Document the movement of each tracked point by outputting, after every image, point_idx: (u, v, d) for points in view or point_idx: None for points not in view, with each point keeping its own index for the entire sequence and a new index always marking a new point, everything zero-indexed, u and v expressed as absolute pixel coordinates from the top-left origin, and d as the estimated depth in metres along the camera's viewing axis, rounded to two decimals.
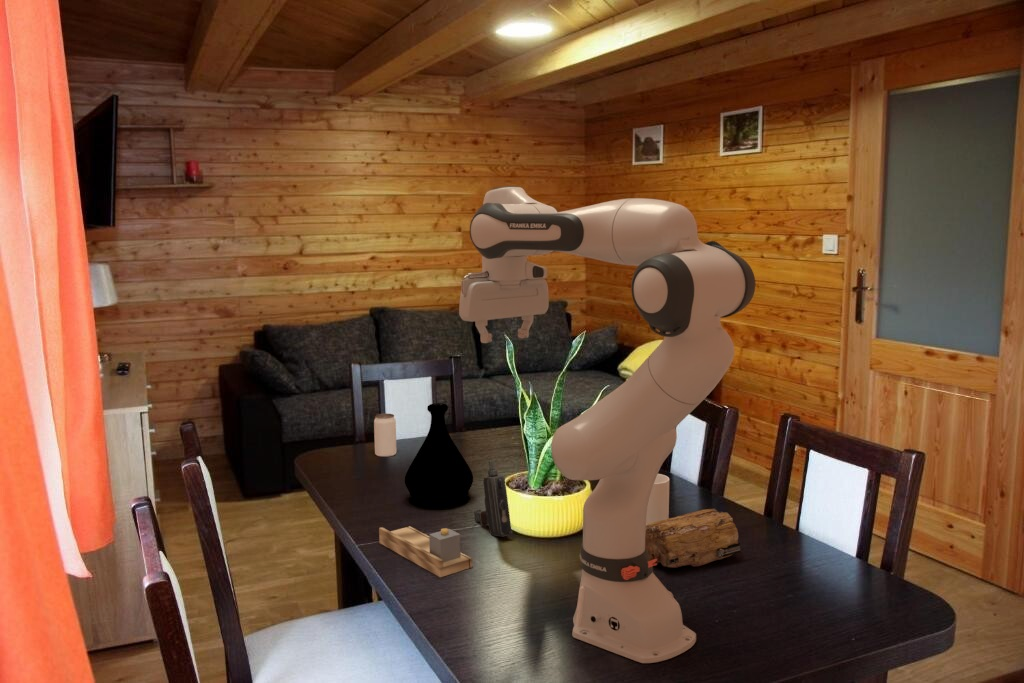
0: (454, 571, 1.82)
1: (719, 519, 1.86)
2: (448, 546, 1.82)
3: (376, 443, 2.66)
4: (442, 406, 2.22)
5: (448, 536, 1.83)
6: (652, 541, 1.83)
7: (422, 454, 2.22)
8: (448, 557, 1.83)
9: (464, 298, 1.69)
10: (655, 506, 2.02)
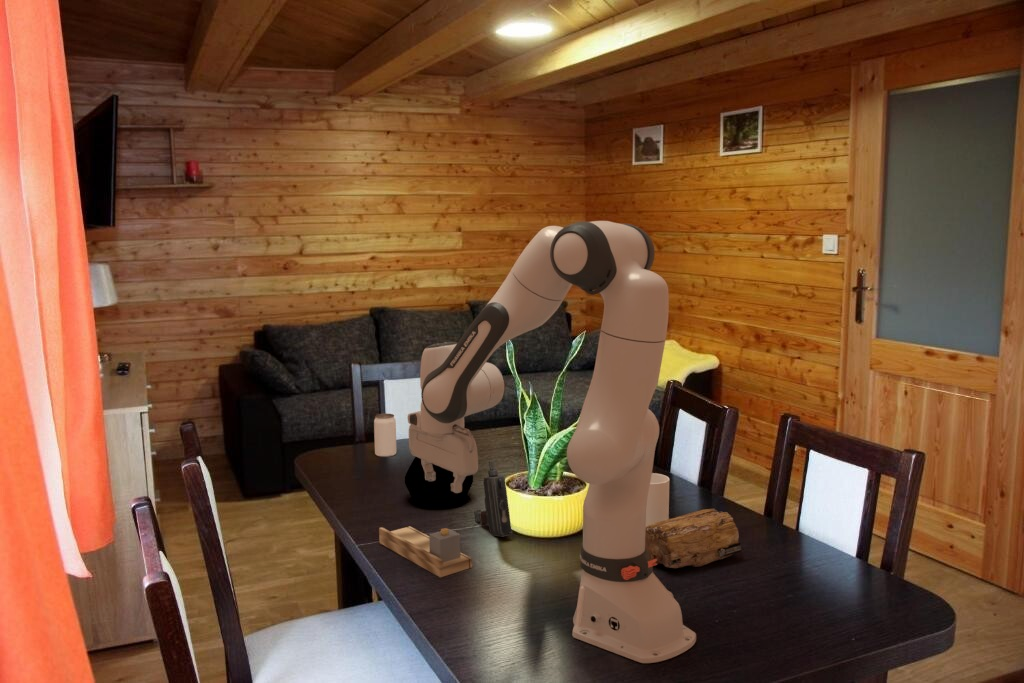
0: (454, 571, 1.82)
1: (719, 519, 1.86)
2: (448, 546, 1.82)
3: (376, 443, 2.66)
4: None
5: (448, 536, 1.83)
6: (654, 542, 1.82)
7: None
8: (448, 557, 1.83)
9: (470, 454, 1.74)
10: (655, 506, 2.02)
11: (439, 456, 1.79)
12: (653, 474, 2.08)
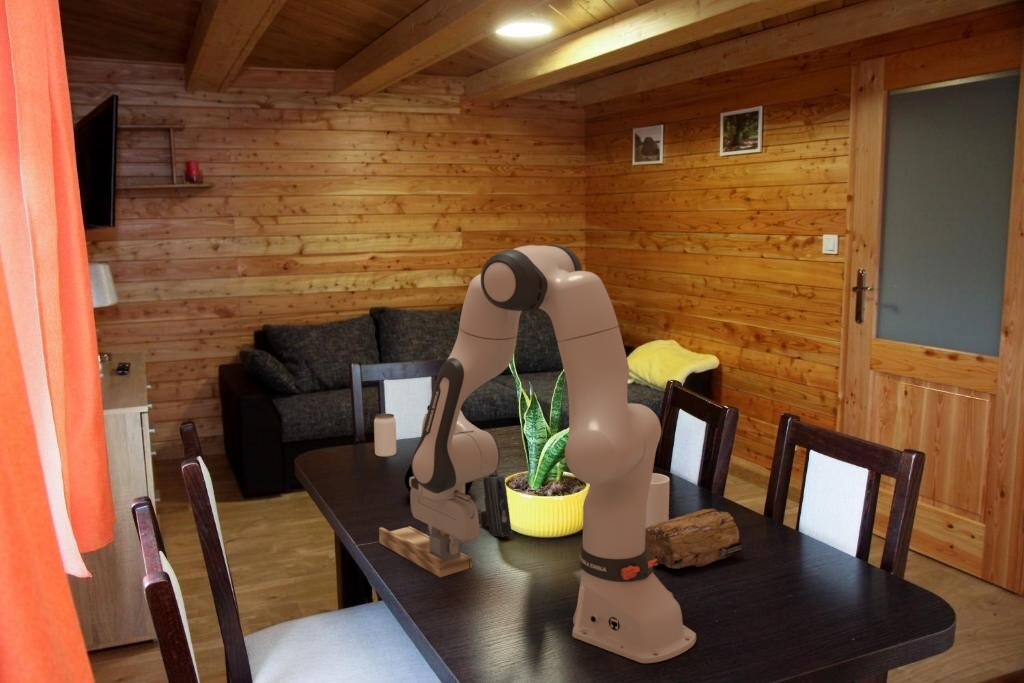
0: (454, 571, 1.82)
1: (720, 519, 1.86)
2: None
3: (376, 443, 2.66)
4: None
5: (448, 536, 1.83)
6: (656, 543, 1.82)
7: None
8: (448, 557, 1.83)
9: (472, 520, 1.76)
10: (655, 506, 2.02)
11: (441, 521, 1.81)
12: (653, 474, 2.08)
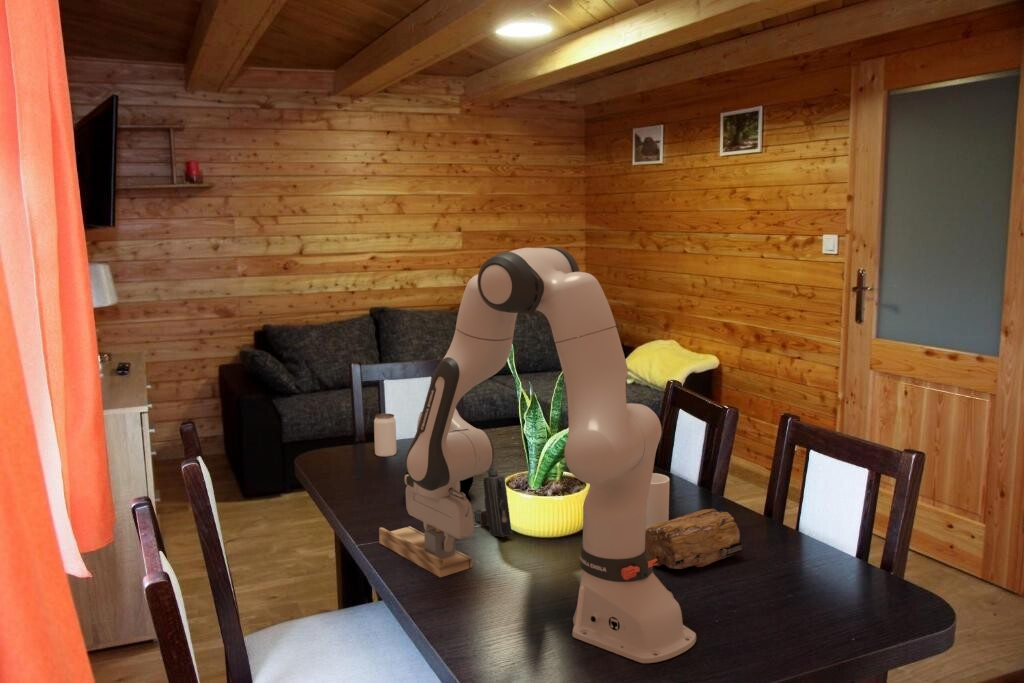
0: (454, 571, 1.82)
1: (721, 519, 1.86)
2: None
3: (376, 443, 2.66)
4: None
5: (443, 533, 1.84)
6: (657, 543, 1.82)
7: None
8: (443, 554, 1.84)
9: (466, 517, 1.77)
10: (655, 506, 2.02)
11: (436, 518, 1.82)
12: (653, 474, 2.08)
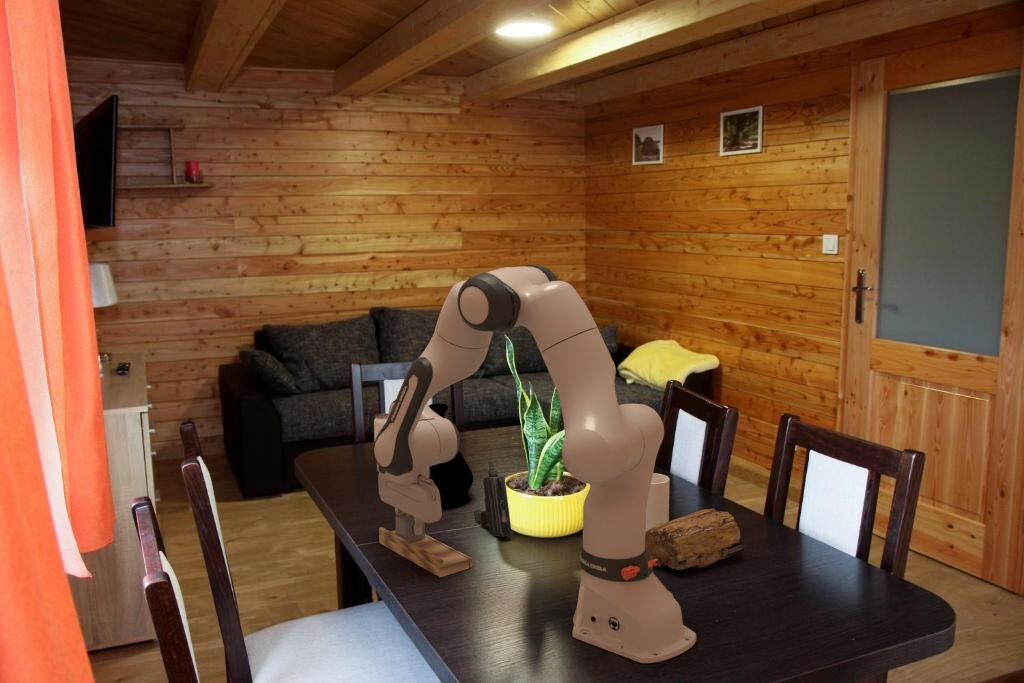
0: (454, 571, 1.82)
1: (722, 519, 1.86)
2: None
3: None
4: (442, 406, 2.22)
5: (413, 518, 1.93)
6: (659, 544, 1.81)
7: None
8: (413, 538, 1.93)
9: (434, 502, 1.86)
10: (655, 506, 2.02)
11: (406, 503, 1.91)
12: (653, 474, 2.08)
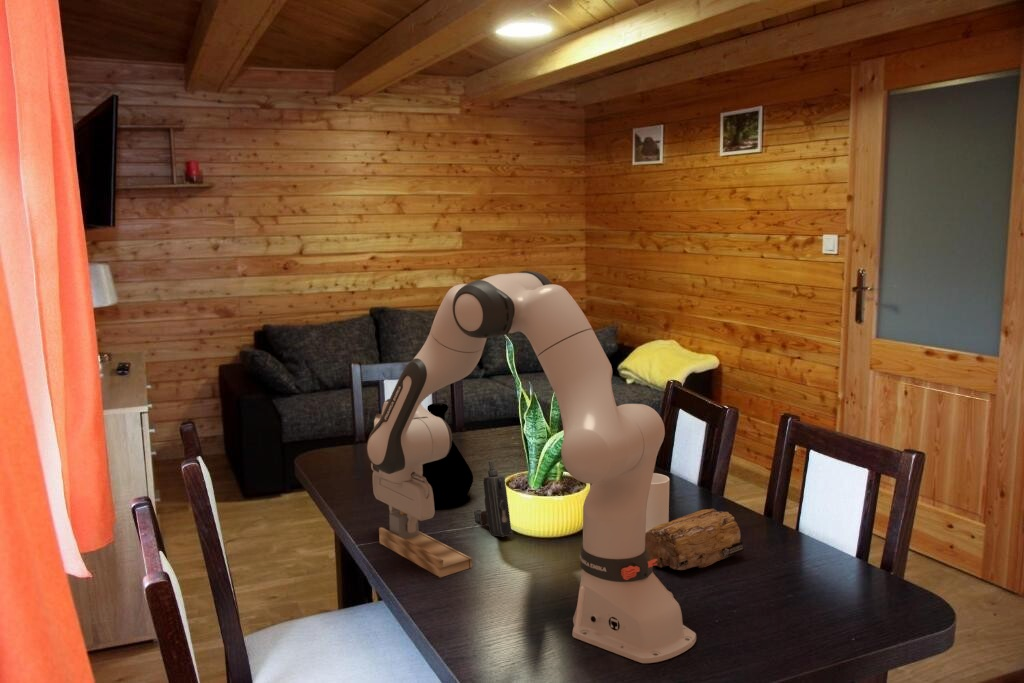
0: (454, 571, 1.82)
1: (722, 519, 1.86)
2: None
3: None
4: (442, 406, 2.22)
5: None
6: (660, 545, 1.81)
7: None
8: (406, 535, 1.95)
9: (427, 500, 1.88)
10: (655, 506, 2.02)
11: (400, 501, 1.93)
12: (653, 474, 2.08)
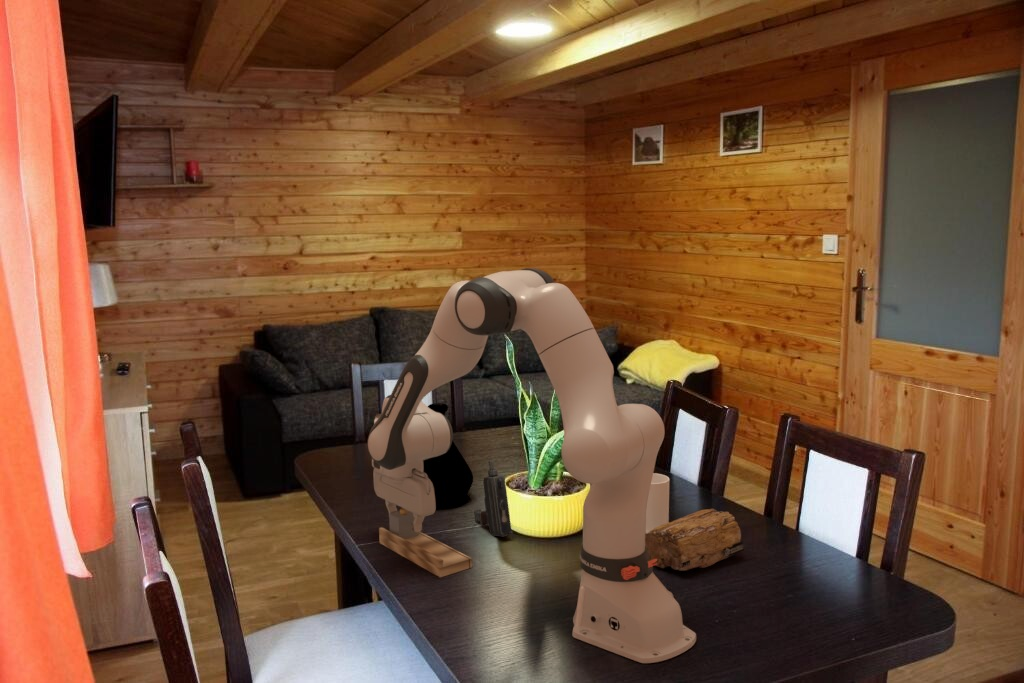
0: (454, 571, 1.82)
1: (723, 519, 1.86)
2: (406, 525, 1.95)
3: None
4: (442, 406, 2.22)
5: (406, 515, 1.95)
6: (662, 545, 1.81)
7: None
8: (406, 535, 1.95)
9: (428, 496, 1.88)
10: (655, 506, 2.02)
11: (401, 498, 1.93)
12: (653, 474, 2.08)
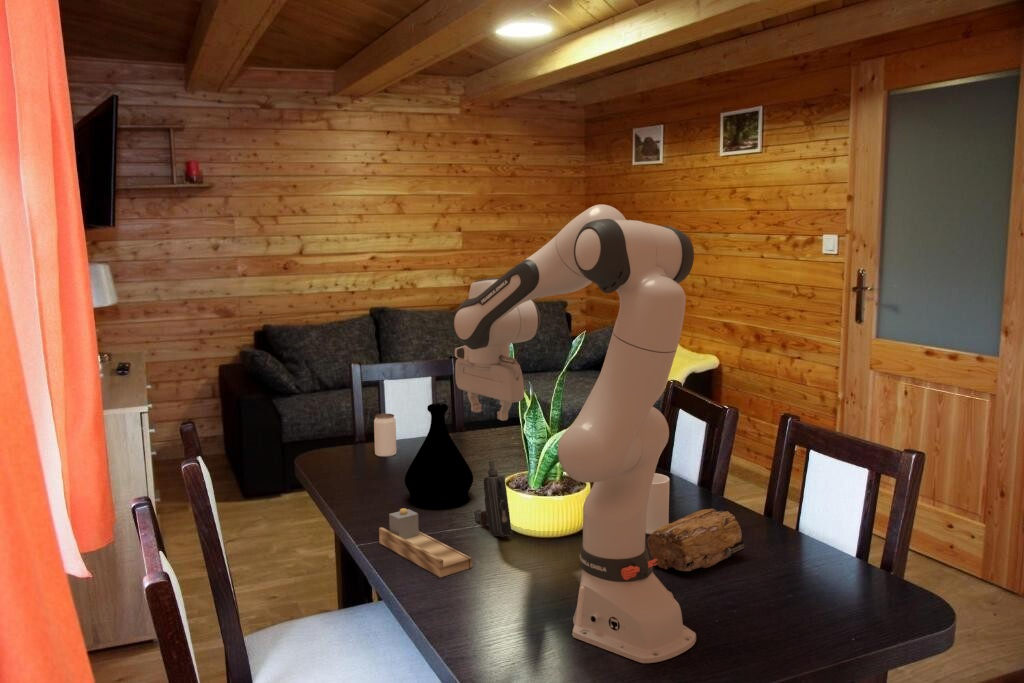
0: (454, 571, 1.82)
1: (724, 519, 1.86)
2: (406, 525, 1.95)
3: (376, 443, 2.66)
4: (442, 406, 2.22)
5: (406, 515, 1.95)
6: (666, 547, 1.80)
7: (422, 454, 2.22)
8: (406, 535, 1.95)
9: (517, 381, 1.84)
10: (655, 506, 2.02)
11: (486, 386, 1.90)
12: None
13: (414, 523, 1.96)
